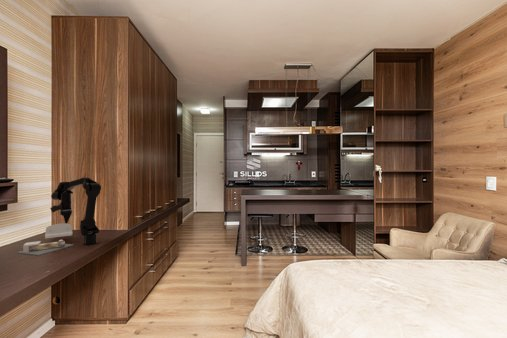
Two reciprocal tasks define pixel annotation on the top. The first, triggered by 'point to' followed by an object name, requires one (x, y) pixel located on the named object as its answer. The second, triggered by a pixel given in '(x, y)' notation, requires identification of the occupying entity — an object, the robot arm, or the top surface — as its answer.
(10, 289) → the top surface
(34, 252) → the pintle base
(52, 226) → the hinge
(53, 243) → the link
